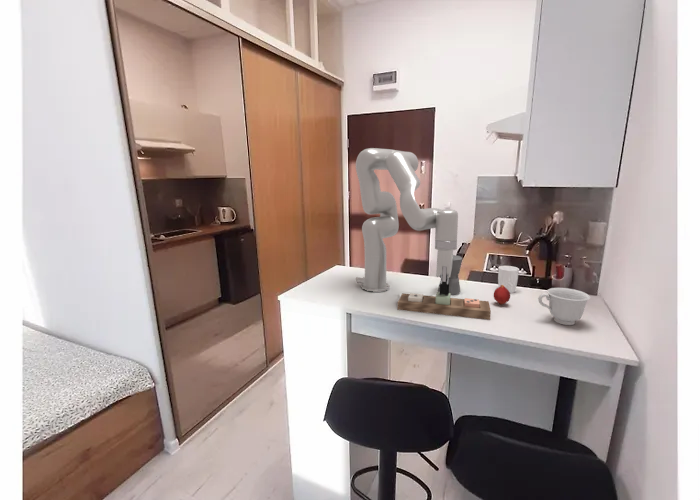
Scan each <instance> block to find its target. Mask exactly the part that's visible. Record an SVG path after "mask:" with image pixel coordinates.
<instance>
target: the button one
mask: <svg viewBox="0 0 700 500" xmlns="http://www.w3.org/2000/svg"><path fill="white" fill-rule="evenodd" d="M409 294H410V295H409V297H408V301H413V302H423V295H424V294H423V293H412V292H410V293H409Z"/></svg>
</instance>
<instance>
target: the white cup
mask: <svg viewBox="0 0 700 500" xmlns="http://www.w3.org/2000/svg"><path fill="white" fill-rule="evenodd" d="M497 269H498V270H497V271H498V273H497V282H498V283H497V285H498V287H500V285H504V287H506V288H507V289H508V291H509V292H510V294H514V293H516V289H517V286H518V285H517V284H518V280H519V271H520V268H518V267H516V266H513V265H512V266H511V265H500V266H498V268H497ZM498 287H497V288H498Z"/></svg>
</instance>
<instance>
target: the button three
mask: <svg viewBox="0 0 700 500" xmlns="http://www.w3.org/2000/svg"><path fill="white" fill-rule="evenodd" d="M463 299H464V307H473V308H479V307H480V303H479V300H480V299H477V298H466V297H465V298H463Z"/></svg>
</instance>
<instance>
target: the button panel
mask: <svg viewBox="0 0 700 500" xmlns="http://www.w3.org/2000/svg"><path fill="white" fill-rule="evenodd" d="M409 295H410V293H401V295H400V296H399V299H398V301H397V311H406V312H408V311H409V312H415V313H423V314H424V313H426V314H434V315H443V316H451V317H453V316H454V317H462V318H471V319H481V320H489V321H490V320H491V315H492V314H491V313H492V311H491V306H490V302H489V300H480V299H479V303H480V307H479V308H473V307H464V299H465V298H456V297H450V305H443V304H436V295H435V296H434V295H424V294H423V302H413V301H408V297H409Z"/></svg>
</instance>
